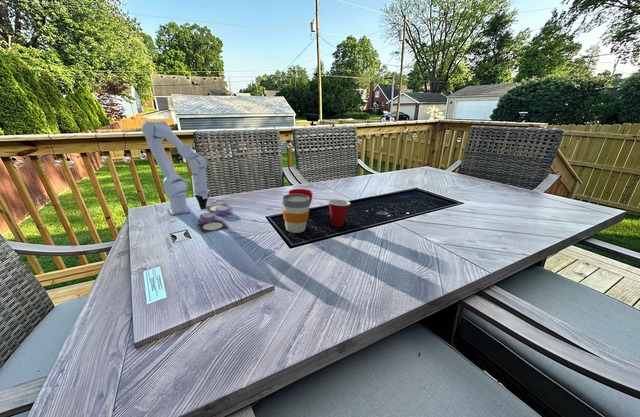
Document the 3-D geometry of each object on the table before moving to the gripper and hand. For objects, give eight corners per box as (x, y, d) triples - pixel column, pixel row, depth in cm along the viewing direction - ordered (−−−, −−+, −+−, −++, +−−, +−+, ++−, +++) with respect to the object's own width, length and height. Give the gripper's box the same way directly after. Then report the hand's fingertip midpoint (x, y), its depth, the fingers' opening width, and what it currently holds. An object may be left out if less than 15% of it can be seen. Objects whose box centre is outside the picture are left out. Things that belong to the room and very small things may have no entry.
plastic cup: (351, 223, 130) (353, 200, 126) (344, 230, 120) (346, 206, 116) (331, 218, 134) (332, 196, 130) (322, 226, 124) (324, 202, 120)
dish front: (198, 219, 125) (197, 214, 124) (213, 216, 129) (213, 211, 128) (202, 224, 119) (201, 219, 119) (217, 221, 123) (217, 216, 123)
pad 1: (206, 207, 141) (206, 206, 141) (224, 204, 147) (224, 204, 147) (211, 212, 133) (211, 212, 133) (230, 209, 139) (230, 209, 139)
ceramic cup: (280, 213, 138) (280, 195, 134) (295, 204, 153) (295, 187, 149) (302, 217, 133) (303, 199, 130) (315, 207, 148) (316, 191, 145)
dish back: (213, 211, 135) (213, 207, 134) (227, 209, 139) (227, 205, 138) (218, 216, 129) (217, 211, 129) (232, 213, 133) (231, 209, 133)
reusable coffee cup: (276, 228, 120) (276, 196, 115) (296, 221, 128) (297, 191, 123) (294, 237, 112) (295, 203, 107) (315, 229, 121) (316, 198, 116)
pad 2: (198, 224, 119) (198, 224, 119) (220, 220, 125) (220, 220, 125) (204, 232, 111) (204, 232, 111) (227, 227, 117) (227, 227, 117)
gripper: (213, 184, 121) (215, 212, 126) (205, 178, 132) (207, 203, 137) (196, 186, 117) (200, 214, 122) (189, 179, 128) (193, 205, 133)
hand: (203, 208), depth 129 cm, fingers closed
